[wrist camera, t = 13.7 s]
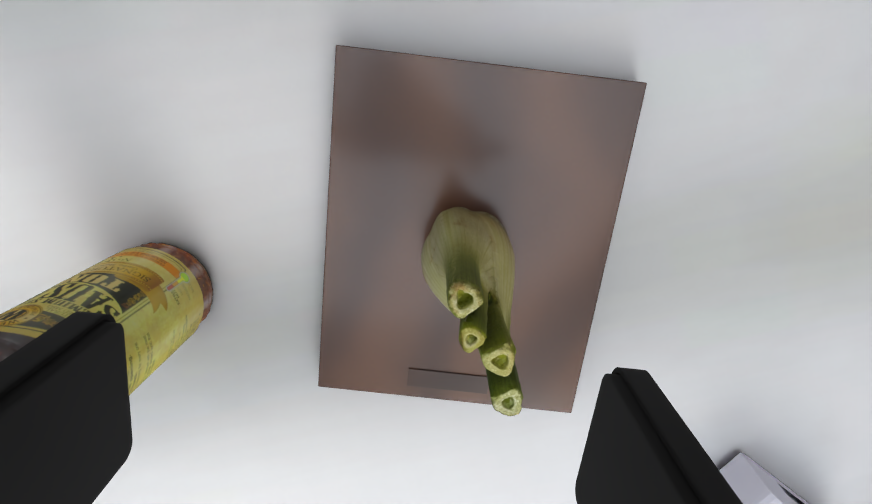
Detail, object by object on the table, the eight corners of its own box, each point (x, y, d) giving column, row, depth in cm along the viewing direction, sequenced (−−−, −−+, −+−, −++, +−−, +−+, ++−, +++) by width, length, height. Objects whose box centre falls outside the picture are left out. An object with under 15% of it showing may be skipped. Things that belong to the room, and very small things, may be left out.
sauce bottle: (206, 233, 31) (-147, 469, 13) (227, 328, 33) (-51, 654, 15) (98, 241, 32) (-407, 485, 13) (126, 335, 34) (-278, 665, 15)
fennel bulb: (502, 298, 31) (539, 428, 20) (419, 293, 31) (406, 419, 20) (514, 202, 29) (562, 282, 18) (425, 195, 29) (415, 272, 18)
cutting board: (323, 373, 34) (317, 387, 33) (341, 46, 28) (335, 44, 27) (566, 399, 35) (571, 414, 33) (637, 82, 29) (648, 82, 27)
